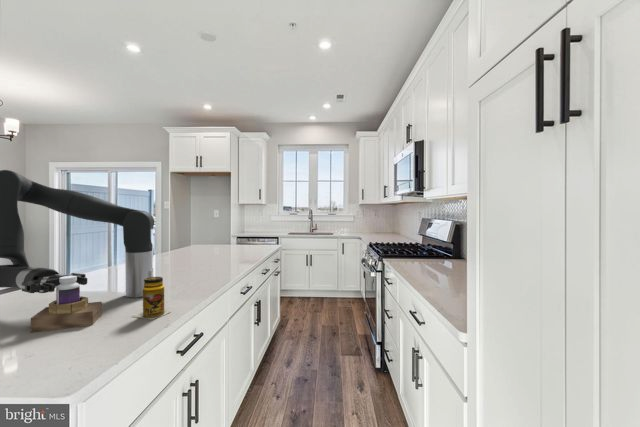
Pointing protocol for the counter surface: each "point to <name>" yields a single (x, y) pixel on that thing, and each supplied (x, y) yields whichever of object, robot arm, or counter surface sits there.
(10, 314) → the counter surface
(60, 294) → the pill bottle
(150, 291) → the condiment
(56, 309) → the wooden bottle holder
